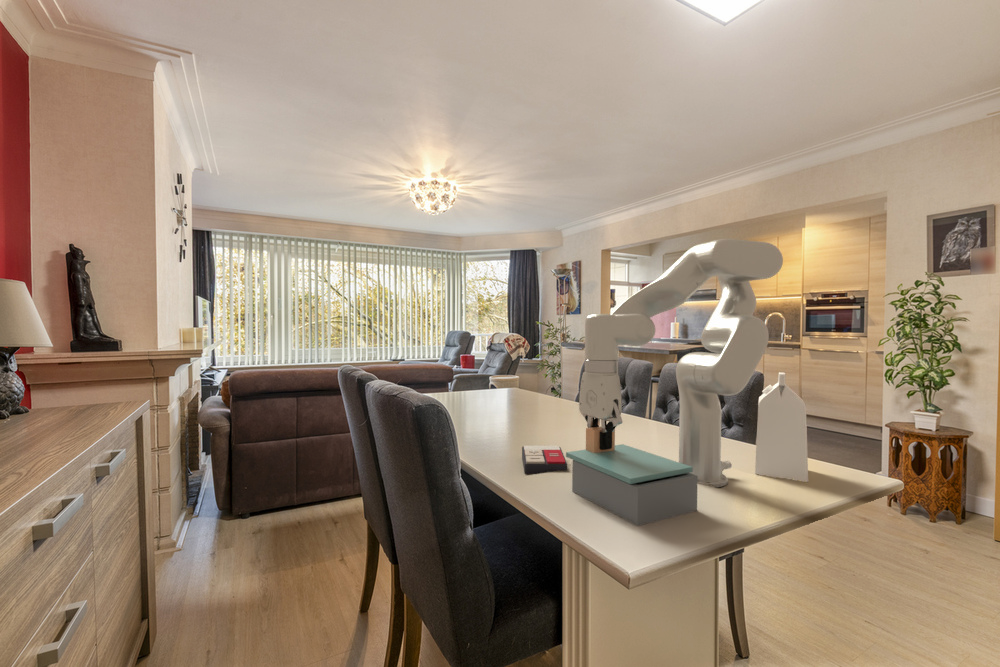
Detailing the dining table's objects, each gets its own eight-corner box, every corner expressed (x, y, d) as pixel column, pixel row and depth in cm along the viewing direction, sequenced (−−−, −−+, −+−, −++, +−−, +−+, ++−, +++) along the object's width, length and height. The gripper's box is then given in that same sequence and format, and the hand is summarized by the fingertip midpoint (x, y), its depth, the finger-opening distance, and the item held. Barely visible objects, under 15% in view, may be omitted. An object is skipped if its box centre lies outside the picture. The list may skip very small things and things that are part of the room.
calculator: (524, 461, 119) (522, 443, 134) (524, 477, 119) (521, 458, 134) (567, 461, 119) (560, 443, 134) (567, 478, 119) (560, 458, 134)
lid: (622, 448, 113) (623, 423, 113) (692, 471, 95) (693, 442, 95) (565, 456, 105) (566, 430, 105) (630, 484, 87) (630, 452, 87)
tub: (626, 485, 111) (627, 451, 111) (697, 515, 93) (697, 475, 93) (572, 495, 104) (572, 460, 104) (637, 531, 86) (637, 487, 86)
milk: (808, 482, 115) (810, 376, 114) (754, 474, 120) (756, 374, 120) (804, 469, 125) (806, 372, 125) (755, 462, 131) (757, 370, 130)
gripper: (566, 365, 113) (565, 441, 113) (612, 371, 98) (611, 458, 98) (591, 364, 116) (590, 437, 116) (639, 370, 102) (638, 453, 102)
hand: (600, 446), depth 107 cm, fingers closed on lid, 3 cm apart
